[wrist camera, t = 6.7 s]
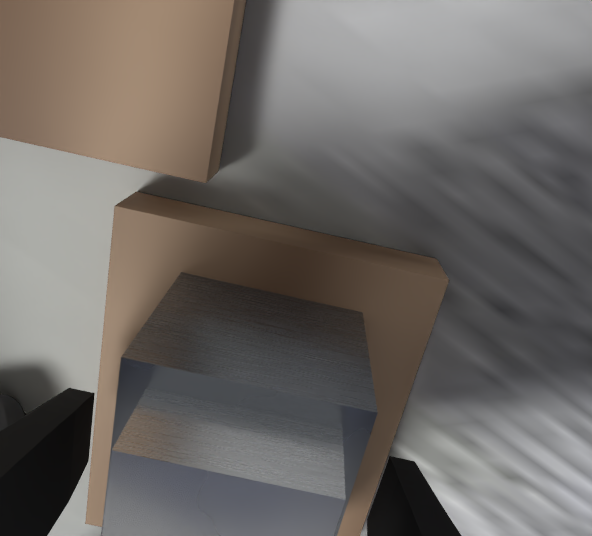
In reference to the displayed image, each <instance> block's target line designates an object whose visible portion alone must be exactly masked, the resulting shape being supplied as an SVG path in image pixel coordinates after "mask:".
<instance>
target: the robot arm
mask: <svg viewBox="0 0 592 536" xmlns="http://www.w3.org/2000/svg"><path fill="white" fill-rule="evenodd" d="M93 403H94V393H90V392H86V391H81V390H76V389H72V388H68V389H67V390H65V391H63V392H62V393H60V394H58V395H57V396H55V397H54V398H52V399H50V400H49V401H47V402H46V403H44V404H43V405H41V406H39V407H38V408H36V409H35V410H33V411H32V412H30V413H28V414H27V415H25V416H24V417H22V418H21V419H19V420H17V421H16V422H14V423H12V424H11V425H9V426H7V427H6V428H4V429H3V430H1V431H0V536H47V535H48V533H49V532H50V530H51V529H52V527H53V526H54V524H55V522H56V521H57V519H58V518H59V516H60V514H61V513H62V511H63V510H64V508H65V507H66V505H67V503H68V502H69V500H70V498H71V496H72V494H73V492H74V490H75V488H76V486H77V484H78V482H79V480H80V478H81V475H82V473H83V471H84V469H85V467H86V465H87V463H88V459H89V448H90V437H91V426H92V415H93ZM367 536H461V534H460V533H459V531H458V530H457V528H456V527H455V525H454V524H453V522H452V521H451V519H450V518H449V516H448V515H447V513H446V512H445V510H444V508H443V507H442V505H441V504H440V502H439V500H438V499H437V497H436V496H435V494H434V492H433V491H432V489H431V487H430V486H429V484H428V483H427V481H426V479H425V478H424V476H423V474H422V473H421V471H420V470H419V468H418V466H417V465H416V463H415V462H414V461H410V460H405V459H401V458H396V457H391V456H390V457H389V460H388V463H387V465H386V468H385V471H384V474H383V477H382V480H381V482H380V485H379V488H378V491H377V494H376V497H375V499H374V502H373V505H372V508H371V511H370V514H369V516H368V519H367Z"/></svg>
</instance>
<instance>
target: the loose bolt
mask: <svg viewBox="0 0 592 536" xmlns="http://www.w3.org/2000/svg"><path fill="white" fill-rule="evenodd" d="M24 416H25V414H24V412H23V410H22V408H21V406H20V405H19V403H18V402H17V401H16V400H15V399H13V398H12V397H10V396H7V395H0V431H1V430H3V429H4V428H6V427H7V426H9V425H11V424H12V423H14V422H16V421H17V420H19V419H21V418H22V417H24Z"/></svg>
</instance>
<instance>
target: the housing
mask: <svg viewBox="0 0 592 536" xmlns="http://www.w3.org/2000/svg"><path fill="white" fill-rule="evenodd" d="M377 414H378V411H377V405H376V398H375V391H374V385H373V378H372V371H371V365H370V358H369V351H368V345H367V338H366V331H365V325H364V318H363V312H359V311H354V310H350V309H345V308H341V307H336V306H332V305H327V304H323V303H318V302H314V301H309V300H305V299H300V298H296V297H291V296H287V295H282V294H278V293H273V292H269V291H264V290H260V289H255V288H251V287H246V286H242V285H237V284H233V283H228V282H224V281H219V280H215V279H210V278H206V277H201V276H197V275H192V274H188V273H183V272H181V273H180V275H179V276H178V277H177V279H176V280H175V282H174V283H173V284H172V286H171V287H170V289H169V290H168V291H167V293H166V294H165V296H164V297H163V299H162V300H161V301H160V303H159V304H158V306H157V307H156V308H155V310H154V311H153V313H152V314H151V316H150V317H149V318H148V320H147V321H146V323H145V324H144V325H143V327H142V328H141V330H140V331H139V332H138V334H137V335H136V337H135V338H134V340H133V341H132V342H131V344H130V345H129V347H128V348H127V349H126V351H125V352H124V354H123V355H122V357H121V362H120V371H119V380H118V389H117V398H116V407H115V416H114V425H113V434H112V443H111V451H110V460H109V469H108V478H107V487H106V496H105V505H104V514H103V523H102V532H101V536H337V534H338V531H339V528H340V525H341V522H342V519H343V516H344V513H345V510H346V507H347V504H348V501H349V498H350V495H351V492H352V489H353V486H354V483H355V480H356V477H357V474H358V471H359V468H360V465H361V462H362V459H363V456H364V453H365V450H366V447H367V444H368V441H369V438H370V435H371V432H372V429H373V426H374V423H375V420H376V417H377Z"/></svg>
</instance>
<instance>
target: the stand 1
mask: <svg viewBox="0 0 592 536" xmlns="http://www.w3.org/2000/svg"><path fill="white" fill-rule="evenodd" d="M245 5H246V0H0V137H3V138H7V139H12V140H16V141H20V142H25V143H29V144H34V145H38V146H43V147H47V148H52V149H56V150H61V151H65V152H69V153H74V154H78V155H83V156H87V157H92V158H96V159H101V160H105V161H109V162H114V163H118V164H123V165H127V166H132V167H136V168H141V169H145V170H149V171H154V172H158V173H163V174H167V175H172V176H176V177H181V178H185V179H189V180H194V181H198V182H203V183H207V182H208V181H209V180H210V179H211V178H212V177H213V176H214V175H215V174H216V173H217V172H218V171H219V165H220V159H221V153H222V147H223V140H224V134H225V128H226V122H227V116H228V110H229V104H230V97H231V91H232V85H233V79H234V73H235V67H236V60H237V54H238V48H239V42H240V36H241V30H242V24H243V17H244V11H245Z"/></svg>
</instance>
